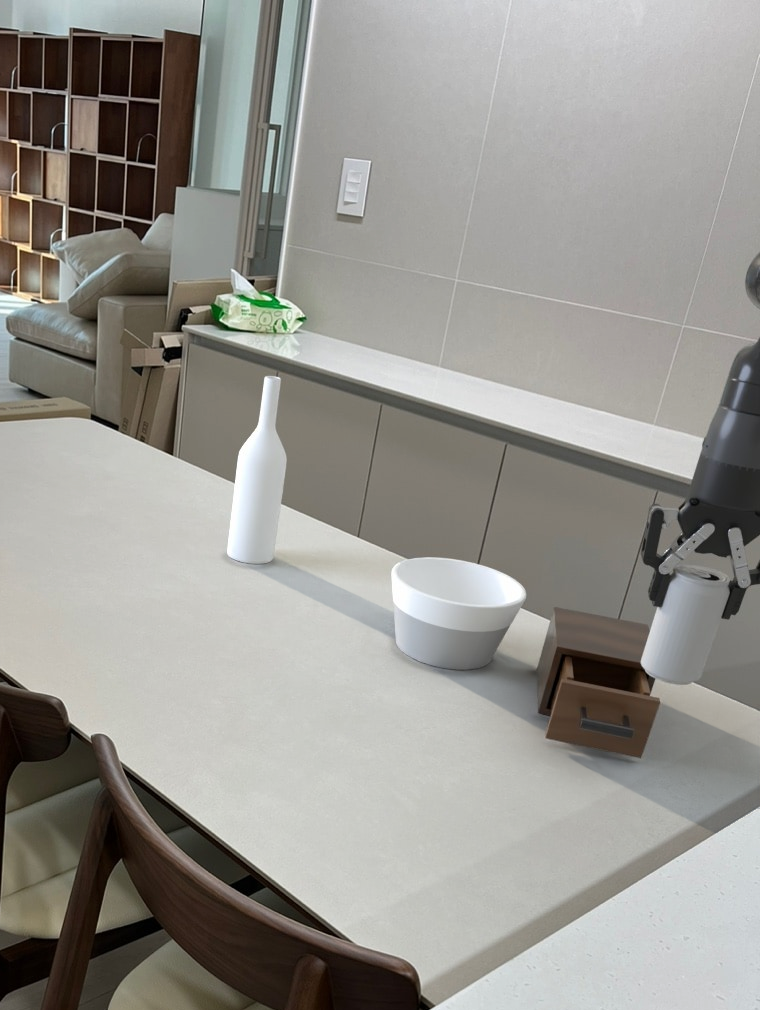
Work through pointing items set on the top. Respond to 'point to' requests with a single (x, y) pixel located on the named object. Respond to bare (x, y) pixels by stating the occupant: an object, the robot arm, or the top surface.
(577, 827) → the top surface
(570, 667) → the drawer
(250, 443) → the bottle
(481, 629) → the bowl
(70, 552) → the top surface
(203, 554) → the top surface
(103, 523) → the top surface
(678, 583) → the beverage can
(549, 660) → the cabinet
